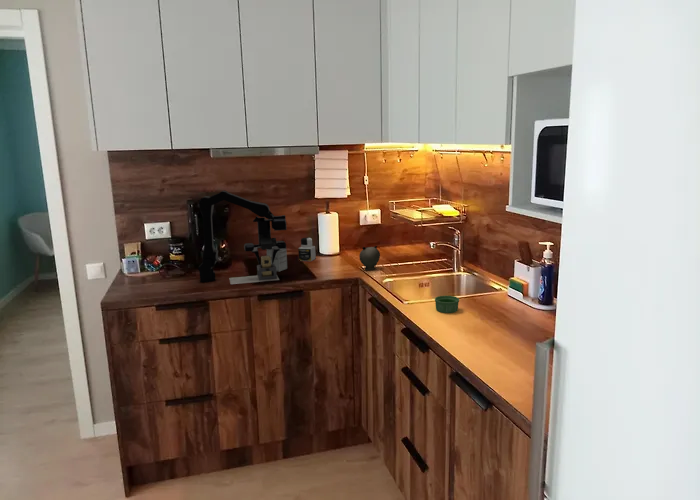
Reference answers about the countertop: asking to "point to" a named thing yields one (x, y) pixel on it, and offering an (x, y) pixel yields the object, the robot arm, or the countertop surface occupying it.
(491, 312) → the countertop surface
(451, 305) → the ramekin
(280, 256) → the supplement box
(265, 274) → the beige tall block
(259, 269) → the collar stand
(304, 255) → the medicine bottle
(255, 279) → the white board
